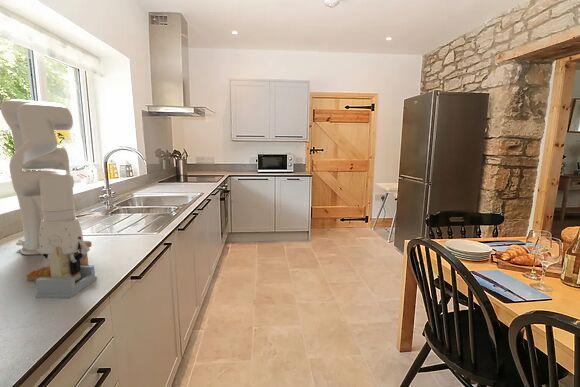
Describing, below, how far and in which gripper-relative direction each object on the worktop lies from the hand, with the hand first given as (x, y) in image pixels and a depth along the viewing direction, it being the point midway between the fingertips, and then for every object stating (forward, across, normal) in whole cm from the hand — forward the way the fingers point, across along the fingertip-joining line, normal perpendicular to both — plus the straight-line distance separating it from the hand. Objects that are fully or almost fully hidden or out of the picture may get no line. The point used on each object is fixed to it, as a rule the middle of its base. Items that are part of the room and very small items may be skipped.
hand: (66, 272), depth 91 cm
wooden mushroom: (+5, -3, +11) cm, 12 cm away
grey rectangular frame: (+5, 0, 0) cm, 5 cm away
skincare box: (+3, 0, 0) cm, 3 cm away
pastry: (+5, -11, +7) cm, 15 cm away
